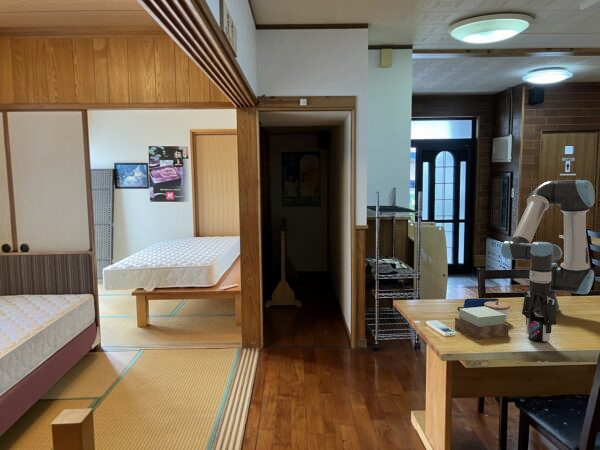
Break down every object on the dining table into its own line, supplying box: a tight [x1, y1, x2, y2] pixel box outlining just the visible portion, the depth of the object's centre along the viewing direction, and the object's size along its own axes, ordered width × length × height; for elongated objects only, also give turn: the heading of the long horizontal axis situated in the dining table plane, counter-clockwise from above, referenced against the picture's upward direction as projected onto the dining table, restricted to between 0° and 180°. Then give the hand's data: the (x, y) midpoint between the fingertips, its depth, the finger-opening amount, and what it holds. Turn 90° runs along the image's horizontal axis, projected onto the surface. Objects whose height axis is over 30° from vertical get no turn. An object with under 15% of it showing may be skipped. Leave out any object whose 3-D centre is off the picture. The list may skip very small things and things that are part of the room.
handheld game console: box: [457, 297, 500, 311], centre depth 208 cm, size 16×13×9 cm
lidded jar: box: [484, 301, 511, 320], centre depth 196 cm, size 11×11×9 cm
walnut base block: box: [454, 316, 510, 340], centre depth 183 cm, size 15×15×5 cm
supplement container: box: [527, 311, 547, 343], centre depth 172 cm, size 7×7×10 cm
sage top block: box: [458, 306, 507, 327], centre depth 182 cm, size 13×13×4 cm
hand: (537, 336), depth 172 cm, fingers open, 8 cm apart
